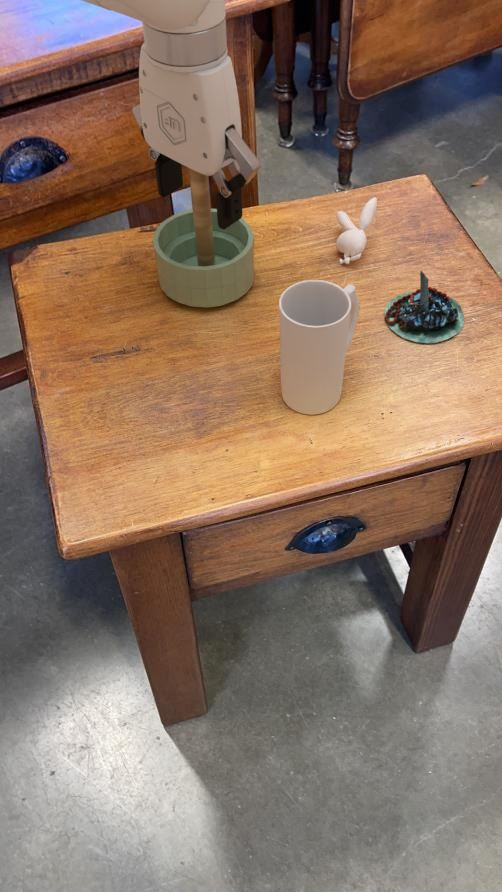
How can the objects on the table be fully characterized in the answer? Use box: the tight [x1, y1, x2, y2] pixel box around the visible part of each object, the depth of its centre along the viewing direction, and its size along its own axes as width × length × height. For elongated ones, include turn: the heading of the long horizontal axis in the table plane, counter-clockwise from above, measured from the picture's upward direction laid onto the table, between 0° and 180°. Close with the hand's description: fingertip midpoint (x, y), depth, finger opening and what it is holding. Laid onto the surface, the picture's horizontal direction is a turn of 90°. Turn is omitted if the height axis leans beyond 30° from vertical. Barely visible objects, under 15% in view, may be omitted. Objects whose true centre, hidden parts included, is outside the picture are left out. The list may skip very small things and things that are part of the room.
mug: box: [278, 279, 360, 416], centre depth 83 cm, size 10×7×12 cm, turn 136°
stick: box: [188, 168, 215, 267], centre depth 91 cm, size 2×2×14 cm
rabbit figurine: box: [335, 196, 378, 266], centre depth 100 cm, size 6×4×8 cm
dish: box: [383, 270, 465, 344], centre depth 94 cm, size 8×7×8 cm
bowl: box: [152, 208, 256, 308], centre depth 95 cm, size 11×11×6 cm
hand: (200, 206), depth 89 cm, fingers open, 8 cm apart
